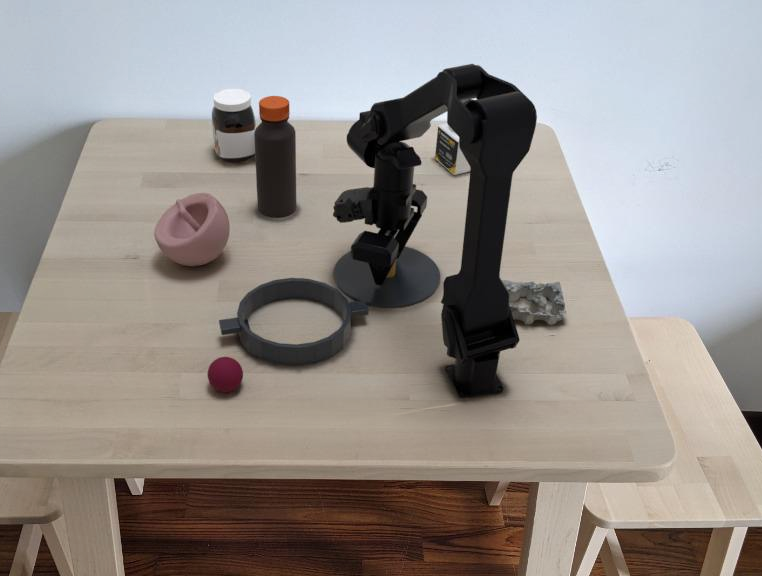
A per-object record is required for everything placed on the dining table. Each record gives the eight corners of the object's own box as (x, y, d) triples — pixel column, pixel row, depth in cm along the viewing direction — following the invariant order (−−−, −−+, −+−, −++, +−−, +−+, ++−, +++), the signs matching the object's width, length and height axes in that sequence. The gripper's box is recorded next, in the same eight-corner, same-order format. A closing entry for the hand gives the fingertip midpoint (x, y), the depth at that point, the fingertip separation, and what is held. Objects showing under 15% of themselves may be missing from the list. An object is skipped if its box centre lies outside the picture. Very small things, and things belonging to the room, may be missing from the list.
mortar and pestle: (150, 247, 151) (142, 186, 143) (219, 233, 154) (215, 173, 147) (168, 287, 143) (160, 224, 135) (241, 271, 146) (237, 209, 138)
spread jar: (210, 145, 178) (205, 88, 170) (266, 137, 180) (264, 80, 172) (224, 174, 169) (220, 115, 161) (283, 165, 172) (281, 107, 164)
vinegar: (302, 216, 158) (301, 107, 145) (265, 223, 156) (261, 114, 143) (288, 197, 163) (286, 90, 150) (252, 204, 161) (247, 96, 148)
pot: (381, 356, 130) (382, 335, 128) (230, 378, 127) (228, 357, 124) (352, 290, 142) (353, 269, 139) (213, 308, 139) (211, 287, 136)
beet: (250, 391, 123) (238, 366, 120) (217, 403, 124) (204, 379, 120) (244, 369, 127) (233, 344, 124) (212, 381, 127) (200, 357, 124)
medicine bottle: (434, 159, 173) (440, 99, 165) (465, 151, 176) (473, 92, 168) (453, 176, 169) (461, 115, 161) (486, 168, 171) (495, 107, 163)
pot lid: (454, 303, 140) (458, 272, 136) (348, 317, 137) (349, 287, 133) (421, 243, 152) (423, 214, 148) (322, 256, 149) (323, 226, 145)
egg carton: (490, 326, 135) (494, 304, 133) (488, 296, 141) (491, 274, 138) (563, 330, 134) (568, 308, 132) (558, 300, 140) (563, 278, 137)
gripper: (363, 144, 142) (359, 230, 152) (318, 202, 129) (317, 291, 139) (432, 157, 138) (423, 244, 149) (392, 218, 126) (386, 308, 136)
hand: (387, 270), depth 143 cm, fingers open, 8 cm apart
